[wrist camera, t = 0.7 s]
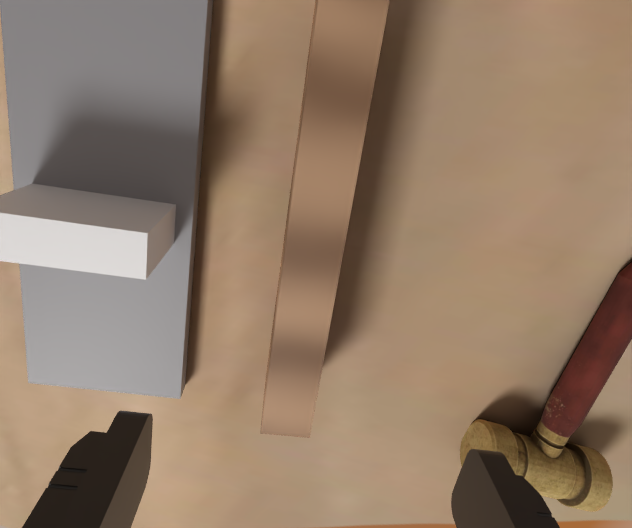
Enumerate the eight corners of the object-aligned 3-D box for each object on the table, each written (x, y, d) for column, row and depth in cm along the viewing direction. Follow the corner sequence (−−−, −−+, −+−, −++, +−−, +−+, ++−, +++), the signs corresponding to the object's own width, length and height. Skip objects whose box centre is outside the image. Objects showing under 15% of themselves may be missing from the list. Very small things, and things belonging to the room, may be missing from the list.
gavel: (624, 222, 27) (759, 271, 28) (576, 207, 31) (695, 250, 33) (474, 498, 32) (594, 526, 34) (451, 453, 37) (558, 479, 38)
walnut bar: (315, 2, 25) (321, -22, 19) (369, 12, 25) (391, -9, 19) (266, 374, 33) (260, 433, 28) (307, 378, 33) (309, 437, 28)
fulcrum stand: (13, -46, 23) (-98, -98, 16) (213, -8, 24) (183, -42, 17) (40, 369, 32) (-26, 443, 25) (185, 385, 33) (158, 459, 26)
